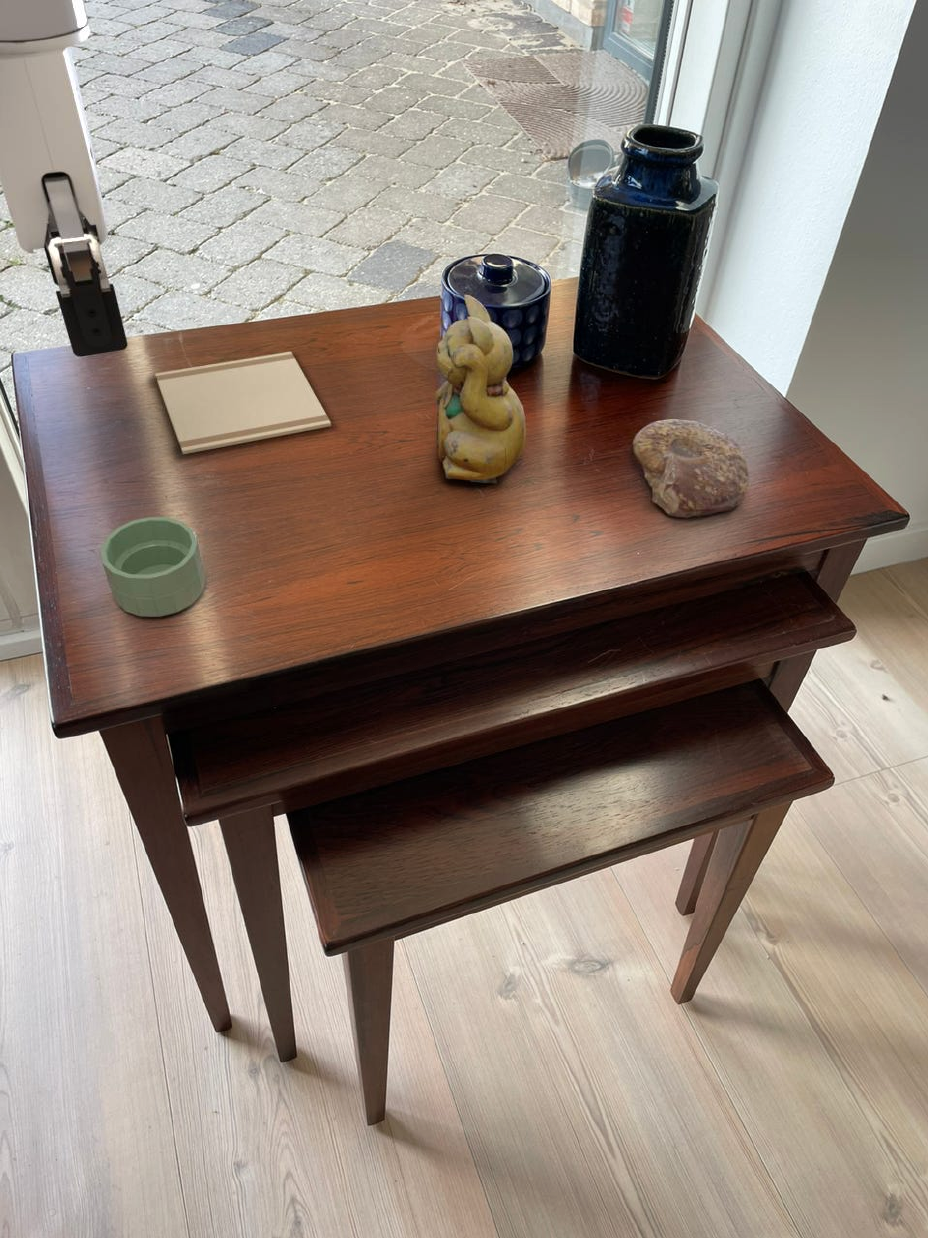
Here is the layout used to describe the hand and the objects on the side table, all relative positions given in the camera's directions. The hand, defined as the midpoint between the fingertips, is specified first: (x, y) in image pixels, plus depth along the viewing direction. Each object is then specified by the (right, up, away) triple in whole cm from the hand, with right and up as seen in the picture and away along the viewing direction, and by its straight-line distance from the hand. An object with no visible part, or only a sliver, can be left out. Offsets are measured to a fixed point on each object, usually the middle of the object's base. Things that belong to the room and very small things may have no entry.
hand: (89, 314), depth 58 cm
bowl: (+1, -18, +11) cm, 21 cm away
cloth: (+2, +2, +30) cm, 30 cm away
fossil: (+45, -7, +24) cm, 52 cm away
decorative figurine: (+26, -6, +25) cm, 36 cm away
